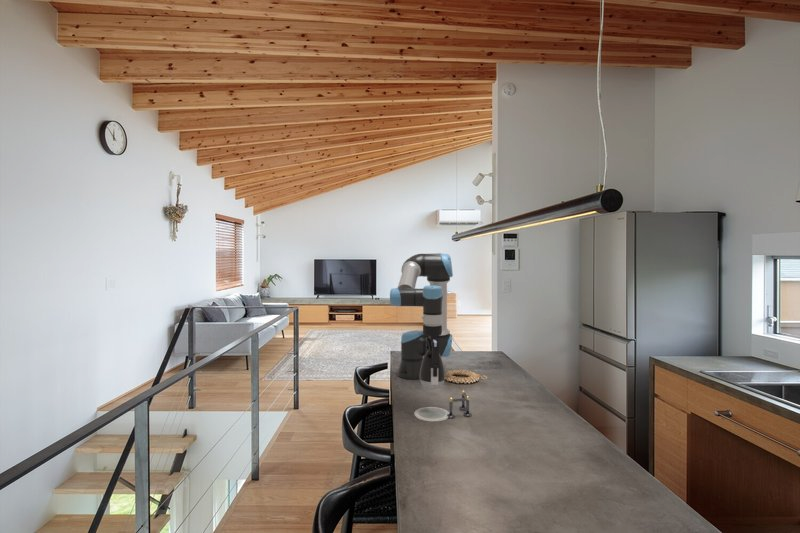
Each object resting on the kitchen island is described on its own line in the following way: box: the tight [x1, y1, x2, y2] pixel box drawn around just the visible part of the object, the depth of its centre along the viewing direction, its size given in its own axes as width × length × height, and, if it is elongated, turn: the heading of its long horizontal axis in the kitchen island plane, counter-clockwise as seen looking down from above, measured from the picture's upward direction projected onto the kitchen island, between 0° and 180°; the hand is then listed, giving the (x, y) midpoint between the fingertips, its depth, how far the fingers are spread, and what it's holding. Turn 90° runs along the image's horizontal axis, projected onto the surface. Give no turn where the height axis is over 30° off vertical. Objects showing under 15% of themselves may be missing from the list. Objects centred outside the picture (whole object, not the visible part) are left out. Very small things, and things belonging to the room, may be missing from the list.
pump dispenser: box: [419, 350, 446, 390], centre depth 168 cm, size 10×10×15 cm
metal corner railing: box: [447, 390, 473, 419], centre depth 171 cm, size 11×10×8 cm
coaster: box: [413, 406, 449, 423], centre depth 169 cm, size 14×14×1 cm
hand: (432, 380), depth 169 cm, fingers closed on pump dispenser, 10 cm apart
